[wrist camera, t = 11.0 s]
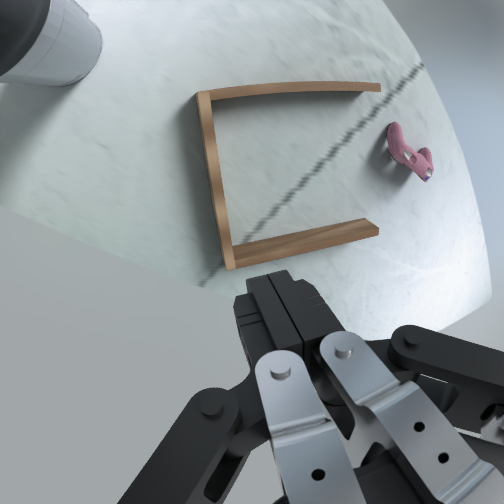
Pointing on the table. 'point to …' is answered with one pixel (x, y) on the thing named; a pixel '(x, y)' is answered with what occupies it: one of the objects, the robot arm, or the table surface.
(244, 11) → the table surface
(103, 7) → the table surface
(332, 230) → the wooden u-shaped frame
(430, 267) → the table surface
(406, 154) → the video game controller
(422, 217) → the table surface
